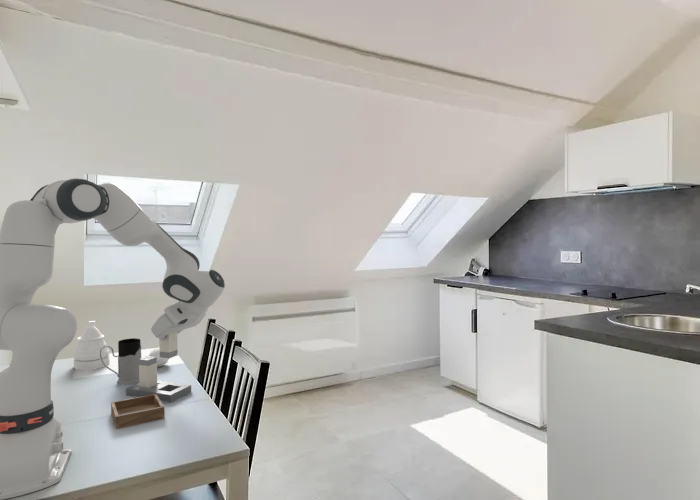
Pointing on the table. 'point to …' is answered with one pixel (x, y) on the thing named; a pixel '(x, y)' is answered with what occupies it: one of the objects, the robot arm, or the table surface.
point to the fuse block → (161, 390)
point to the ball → (158, 357)
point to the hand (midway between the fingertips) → (166, 336)
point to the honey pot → (91, 349)
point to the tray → (137, 410)
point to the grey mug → (127, 360)
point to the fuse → (148, 372)
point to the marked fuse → (169, 346)
